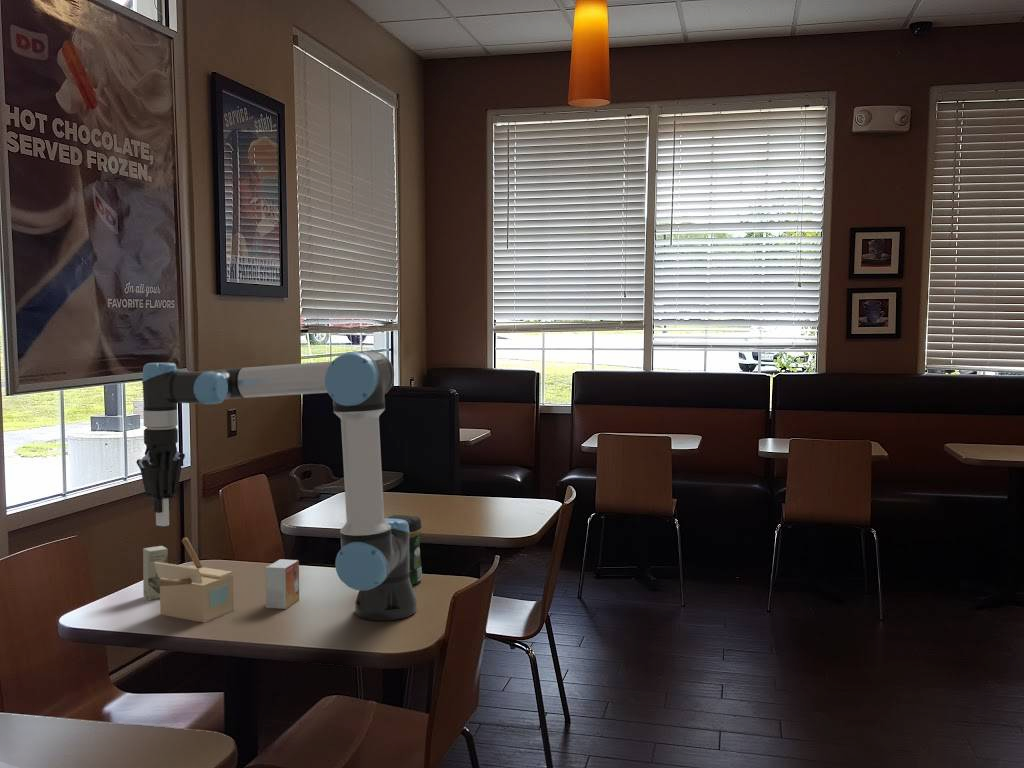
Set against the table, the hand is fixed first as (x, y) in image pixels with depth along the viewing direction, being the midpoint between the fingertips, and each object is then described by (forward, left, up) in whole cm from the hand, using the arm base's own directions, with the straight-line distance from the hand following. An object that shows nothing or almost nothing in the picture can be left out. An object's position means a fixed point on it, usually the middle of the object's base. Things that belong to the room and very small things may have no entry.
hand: (162, 525), depth 209 cm
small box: (-19, -21, -23) cm, 36 cm away
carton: (-4, -7, -23) cm, 24 cm away
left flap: (-4, -1, -11) cm, 11 cm away
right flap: (-4, -9, -14) cm, 17 cm away
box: (+15, -12, -23) cm, 30 cm away
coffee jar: (-37, -50, -23) cm, 66 cm away
